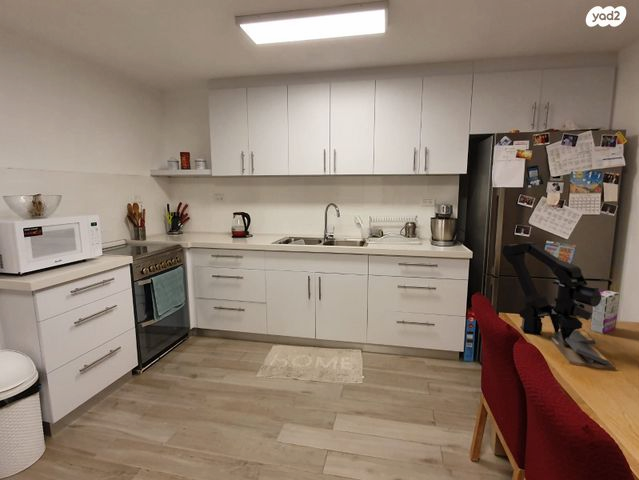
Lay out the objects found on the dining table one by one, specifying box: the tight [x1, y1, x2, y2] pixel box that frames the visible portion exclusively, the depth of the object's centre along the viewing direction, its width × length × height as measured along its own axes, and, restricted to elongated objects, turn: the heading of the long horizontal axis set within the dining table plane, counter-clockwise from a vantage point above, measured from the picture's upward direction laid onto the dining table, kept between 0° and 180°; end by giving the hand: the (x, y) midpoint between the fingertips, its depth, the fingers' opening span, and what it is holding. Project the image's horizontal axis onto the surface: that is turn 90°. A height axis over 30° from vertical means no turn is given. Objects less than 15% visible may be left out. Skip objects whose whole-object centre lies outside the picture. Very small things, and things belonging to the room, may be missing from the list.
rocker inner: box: [553, 329, 596, 345], centre depth 129 cm, size 10×10×2 cm
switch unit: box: [548, 334, 616, 371], centre depth 125 cm, size 13×22×2 cm, turn 161°
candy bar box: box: [589, 290, 621, 335], centre depth 144 cm, size 11×5×16 cm, turn 118°
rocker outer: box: [565, 337, 610, 365], centre depth 119 cm, size 10×10×2 cm
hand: (560, 336), depth 131 cm, fingers open, 9 cm apart
